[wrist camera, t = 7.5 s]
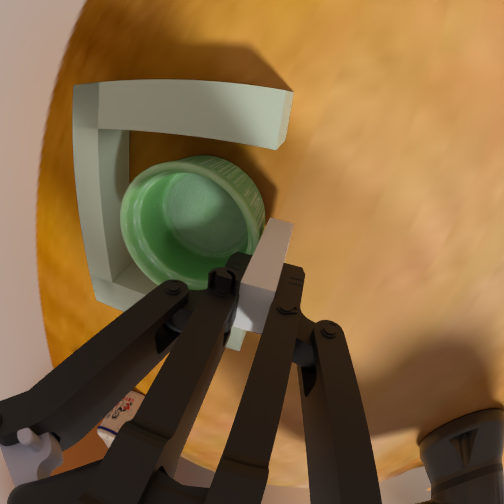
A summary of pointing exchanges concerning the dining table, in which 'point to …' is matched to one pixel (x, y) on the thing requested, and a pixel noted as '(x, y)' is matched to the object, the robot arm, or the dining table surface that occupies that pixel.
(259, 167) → the dining table surface
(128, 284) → the holder
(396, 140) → the dining table surface
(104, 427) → the teacup with lid
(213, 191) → the ramekin
